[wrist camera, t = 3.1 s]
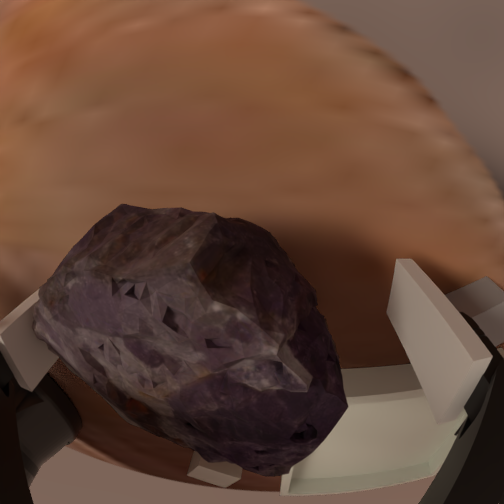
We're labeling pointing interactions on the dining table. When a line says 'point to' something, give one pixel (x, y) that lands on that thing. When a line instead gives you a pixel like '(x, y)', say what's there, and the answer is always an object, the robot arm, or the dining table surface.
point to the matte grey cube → (214, 471)
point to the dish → (376, 437)
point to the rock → (197, 335)
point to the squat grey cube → (482, 307)
